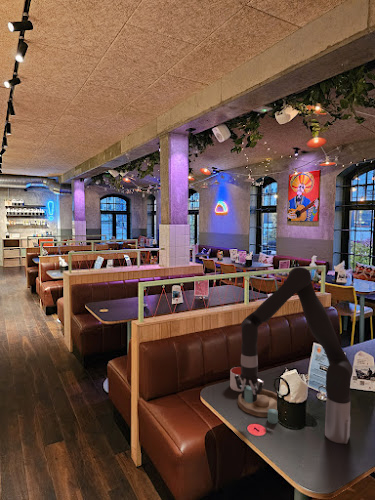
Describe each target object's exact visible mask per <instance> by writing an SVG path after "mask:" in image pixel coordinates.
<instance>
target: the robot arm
mask: <svg viewBox="0 0 375 500" xmlns="http://www.w3.org/2000/svg"><path fill="white" fill-rule="evenodd" d="M294 295H297V296H298V298H299V301H300V305H301V308H302V311H303V315H304V318H305V321H306V323H307V325H308V328H309V330H310V332H311V335H312V336H313V337H314V339H315V340H316V341H317V343H319V345H320V346H321V347H322V349H323V351H324V353H325V355H326V359H327V361H328V367H327V368H326V371H325V372H326V373H325V392H326V399H325V401H326V402H325V403H326V404H325V419H324V422H325V423H324V424H325V425H324V435H325V437H326V438H327V440H329V441H331V442H333V443H337V444H345V445H347V444H348V442H349V439H350V433H351V414H350V413H351V398H352V397H351V381H352V380H351V378H352V376H353V373H354V370H353V369H354V368H353V366H352V363H351V362H350V360H349V358H348V356H347V355H346V353H345V351H344V349H343V348H342V345H341V343H340V341H339V338H338V336H337V333H336V330H335V329H334V326H333V323H332V321H331V318H330V317H329V314H328V312H327V310H326V308H325V306H324V305H323V303H322V302H321V300H320V299H319V297H318V295H317V293H316V291H315V288H314V286H313V283H312V274H311V272H310V270H309V269H307V268H306V267H303V266H296V267H293V268H291V270H290V271H289V273H288V276H287V277H286V279H285V280H284V282H283V283H282V285H280V286H279V287H278V289H277V290H276V291H275V292H273V293H272V294H270V296H269V297H267V298H266V299H265V300H263V302H262V303H261V304H260V305H259V306H258V307H257V308H256V309H255V310H254V311H252V312H251V313H250V314H249V315H247V316H246V317H245V318H244V319H243V320H242V322H241V325H240V329H241V341H242V342H241V349H240V350H241V355H240V367H241V375H239V374H237V375H236V376H235V380H236V384H237V388H238V389H241V391H242V392H241V393H242V397H243V399H244V388H245V387H246V385H249V386H251V389H252V391H253V402H255V401H256V400H257V394H260V392H261V391H262V389H264V388H263V387H264V385H265V381H264V380H261V379H259V375H258V374H259V373H258V372H259V364H258V363H259V362H258V359H259V358H258V339H259V338H258V336H259V335H258V334H259V330H258V329H259V328H260V326H261V325H262V324H263V323H267V322H269V320H270V319H271V318H273V316H274V315H276V313H277V312H278V311H279V310H280V309H281V308H282V307H283V306H284V305H285V304H286V303H287V302H288V301H289V300H290V299H291V298H292V297H293V296H294ZM240 379H242V381H243V384H241V380H240ZM257 384H258V386H257ZM257 389H258V390H257Z"/></svg>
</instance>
